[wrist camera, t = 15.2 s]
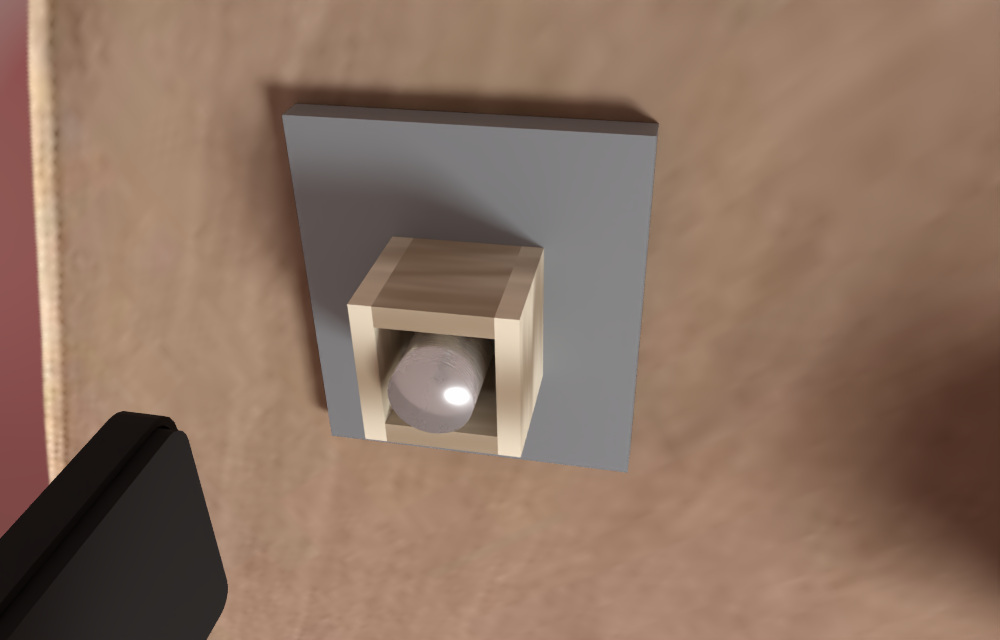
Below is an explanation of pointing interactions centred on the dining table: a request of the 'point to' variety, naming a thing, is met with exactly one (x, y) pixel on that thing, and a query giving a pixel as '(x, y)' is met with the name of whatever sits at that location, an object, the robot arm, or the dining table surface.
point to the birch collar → (453, 311)
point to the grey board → (492, 220)
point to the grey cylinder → (439, 380)
